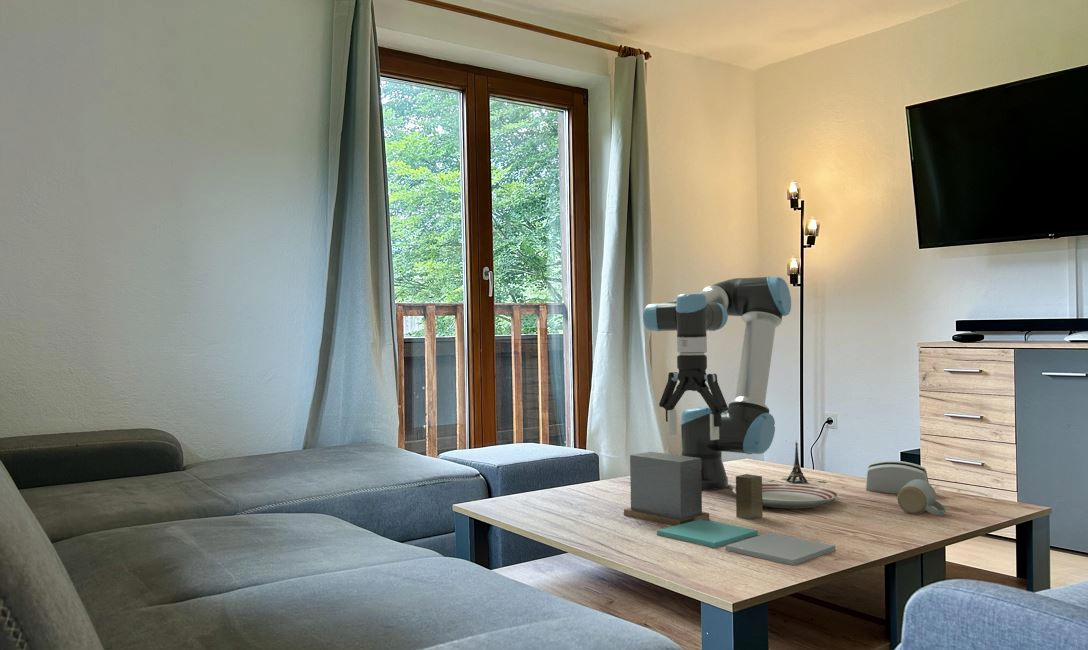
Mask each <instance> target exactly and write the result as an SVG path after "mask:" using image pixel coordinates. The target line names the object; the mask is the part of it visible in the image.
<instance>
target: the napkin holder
mask: <svg viewBox="0 0 1088 650" xmlns="http://www.w3.org/2000/svg"><path fill="white" fill-rule="evenodd" d="M915 479H920V480H924V481H926V482H928V483H929V484H930V482H929V477H928V473H927V469H926V468H925V467H924V466H922V465H919V464H917V463H913V462H912V463H911V462H907V461H901V460H883V461H877V462H873V463H872V462H871V463H870V464H869V465H868V467H867V471H866V484H865V491H867V492H881V493H892V494H898V493H899V491H900V490H901V488H903V487H904V486H905V485H906V484H907V483H908V482H910V481H911V480H915Z"/></svg>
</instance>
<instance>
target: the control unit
mask: <svg viewBox="0 0 1088 650" xmlns="http://www.w3.org/2000/svg"><path fill="white" fill-rule="evenodd" d="M629 458H630V459H629V464H630V465H629V466H630V467H629V468H630V469H629V472H630V477H629V478H630V480H629V481H630V507H629V508H628V507H627V508H624V509H623V516H627V517H630V518H635V519H640V520H645V521H650V522H655V523H659V524H664V525H669V526H676V525H680V524H684V523H688V522H692V521H695V520H699V519H703V520H708V521H710V513H708V512H704V511H703V496H702V495H703V494H702V493H703V492H702V491H703V490H702V478H701V458H695V457H688V456H682V455H678V454H672V453H665V452H656V451H647V452H641V453H635V454H630V455H629Z"/></svg>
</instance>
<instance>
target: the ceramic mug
mask: <svg viewBox="0 0 1088 650" xmlns="http://www.w3.org/2000/svg"><path fill="white" fill-rule="evenodd" d="M928 482H929V481H928ZM928 482H926V481H924V480H920V479H915V480H911V481H910V482H908V483H907V484H906V485H905V486H904V487H903V488H901V490H900V491H899V493H897V503H898V506H899V507H900V508H901V509H902V511H904V512H906V513H908V514H911V515H917V514H921V513H924V512H925V511H926V512H928V513H929V514H932V515H934V516H938V517H939V516H940V517H942V516H944V515H945V513H946V511H947V508H946V507H945V506H944V505H943V504H942V503H941V502H939V501H937V500H936V499H937V494H936V491H935V489H934V487H933V486H932V485H931V484H930V482H929V483H928Z"/></svg>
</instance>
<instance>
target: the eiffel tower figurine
mask: <svg viewBox="0 0 1088 650" xmlns="http://www.w3.org/2000/svg"><path fill="white" fill-rule="evenodd" d="M798 447H799V445H798V442H797V439H796V442H795V453H794V454H795V455H794V461H793V462H794V464H793V467H792V471H790V474H789V476H788V477H787V478H786V477H785V478H781V479H780V480H781V481H785V482H787V483H788V484H798V485H807V484H809V482H808V481H811V482H813V481H814V482H815V480H814V479H806V477H805V476H804V473H803V472H802V469H801V465H800V460H799V459H800V458H799V451H798V450H799V449H798ZM775 481H776V480H775V479H772V480H768V482H771V483H773V482H775ZM817 482H818V483H820V484H827V483H828V481H826V480H822V481H821V480H817Z"/></svg>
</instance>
